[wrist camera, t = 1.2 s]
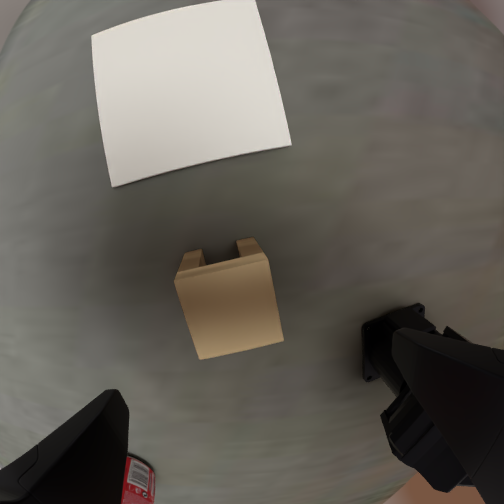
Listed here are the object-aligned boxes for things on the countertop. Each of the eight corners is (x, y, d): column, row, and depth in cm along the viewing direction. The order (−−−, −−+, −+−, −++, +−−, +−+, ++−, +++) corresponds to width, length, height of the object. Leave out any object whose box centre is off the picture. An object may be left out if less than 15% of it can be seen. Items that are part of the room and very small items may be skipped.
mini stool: (266, 299, 22) (283, 340, 16) (202, 314, 22) (199, 360, 16) (253, 236, 21) (268, 259, 15) (185, 252, 20) (173, 281, 15)
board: (287, 146, 19) (291, 144, 18) (116, 186, 19) (112, 187, 18) (252, 3, 16) (253, -3, 15) (95, 40, 16) (91, 35, 15)
